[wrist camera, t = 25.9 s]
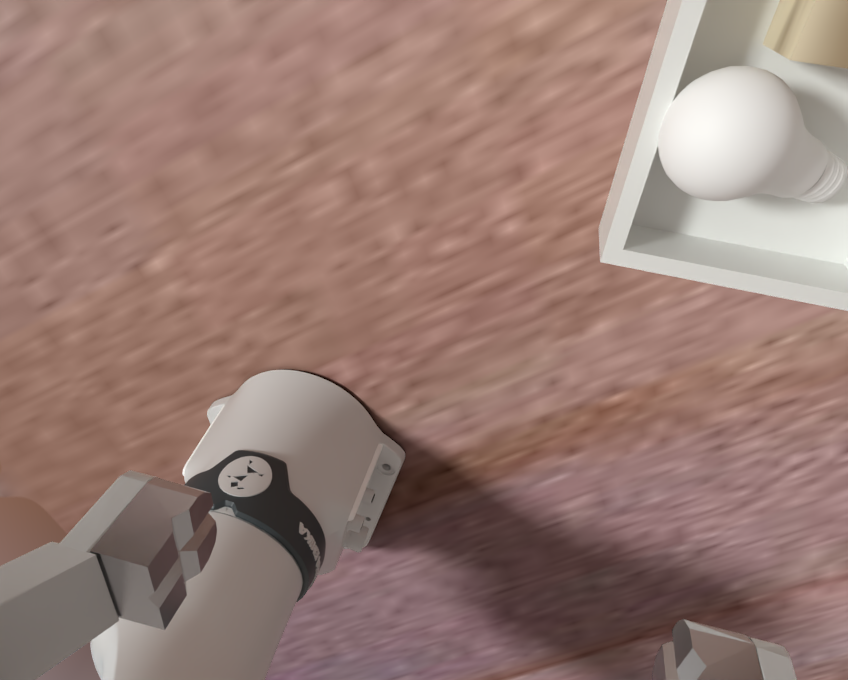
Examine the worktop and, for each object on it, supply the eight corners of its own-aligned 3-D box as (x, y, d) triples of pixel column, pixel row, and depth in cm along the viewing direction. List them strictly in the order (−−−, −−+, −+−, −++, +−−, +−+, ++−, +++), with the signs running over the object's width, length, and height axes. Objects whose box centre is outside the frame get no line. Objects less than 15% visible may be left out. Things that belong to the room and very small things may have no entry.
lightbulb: (766, 243, 34) (620, 188, 30) (790, 140, 34) (646, 70, 30) (881, 237, 28) (720, 167, 24) (910, 113, 28) (753, 21, 24)
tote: (846, 274, 36) (880, 317, 32) (598, 227, 38) (600, 261, 33) (1082, -120, 25) (1179, -132, 21) (715, -159, 27) (738, -177, 23)
